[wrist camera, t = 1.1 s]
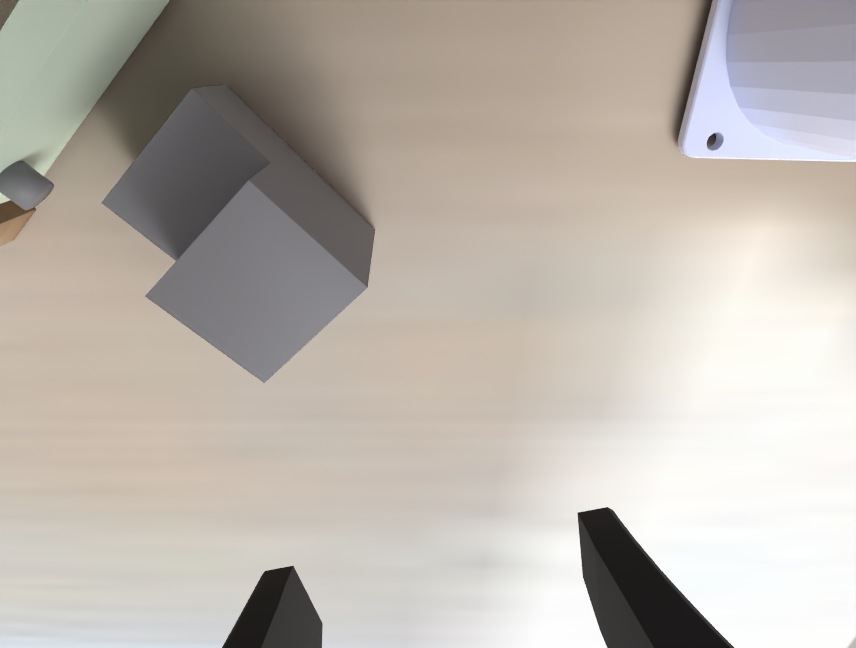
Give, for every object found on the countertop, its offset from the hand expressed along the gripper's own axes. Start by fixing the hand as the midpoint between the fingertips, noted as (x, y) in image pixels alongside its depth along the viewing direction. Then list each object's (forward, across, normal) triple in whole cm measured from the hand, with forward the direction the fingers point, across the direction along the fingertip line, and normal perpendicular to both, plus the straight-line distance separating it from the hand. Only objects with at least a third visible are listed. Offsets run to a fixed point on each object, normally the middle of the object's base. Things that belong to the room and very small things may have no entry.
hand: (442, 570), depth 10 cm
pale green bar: (+9, +6, -11) cm, 16 cm away
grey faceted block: (+10, +4, -6) cm, 12 cm away
